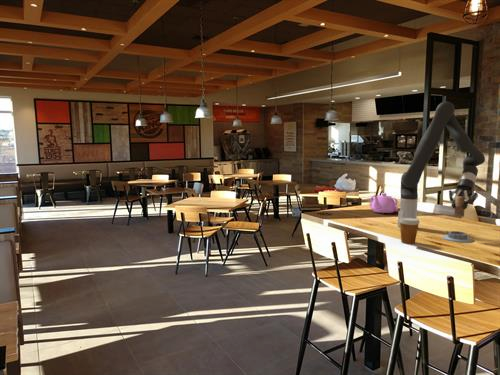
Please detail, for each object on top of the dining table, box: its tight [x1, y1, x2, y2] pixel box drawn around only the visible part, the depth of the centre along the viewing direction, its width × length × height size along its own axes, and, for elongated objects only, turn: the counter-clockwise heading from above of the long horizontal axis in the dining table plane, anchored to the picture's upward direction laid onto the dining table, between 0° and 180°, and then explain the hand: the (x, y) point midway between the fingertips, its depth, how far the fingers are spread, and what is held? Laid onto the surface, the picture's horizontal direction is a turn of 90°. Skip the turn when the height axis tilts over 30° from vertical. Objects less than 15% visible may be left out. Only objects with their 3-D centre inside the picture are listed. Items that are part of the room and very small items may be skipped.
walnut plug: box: [454, 195, 465, 218], centre depth 199 cm, size 4×4×10 cm
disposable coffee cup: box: [399, 217, 420, 245], centre depth 193 cm, size 10×10×12 cm
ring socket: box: [441, 230, 474, 244], centre depth 201 cm, size 14×14×3 cm
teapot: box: [369, 192, 399, 214], centre depth 278 cm, size 22×22×14 cm
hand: (458, 207), depth 198 cm, fingers closed on walnut plug, 4 cm apart
